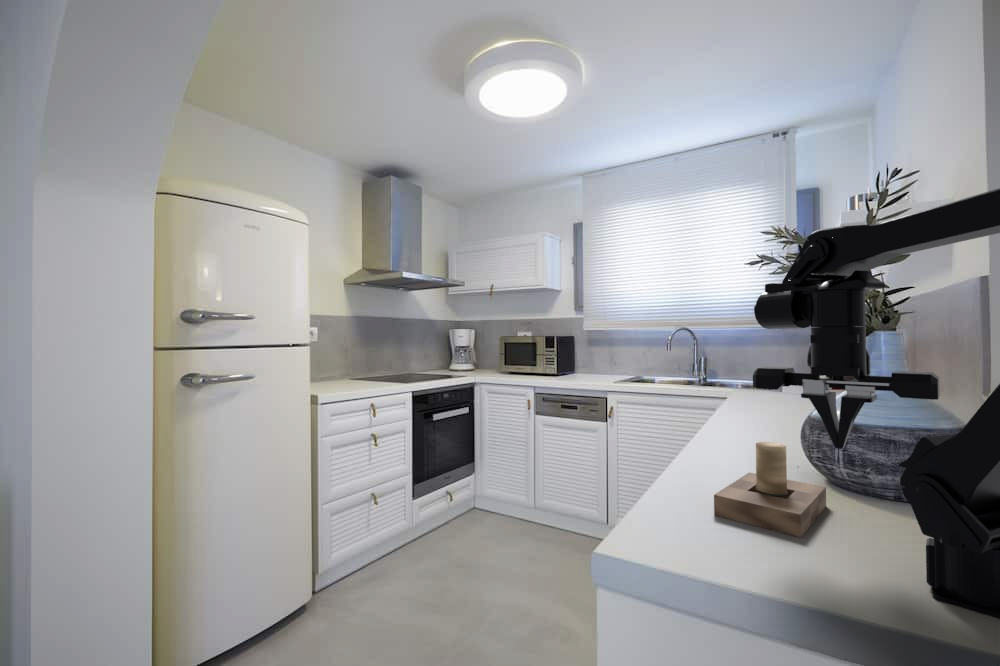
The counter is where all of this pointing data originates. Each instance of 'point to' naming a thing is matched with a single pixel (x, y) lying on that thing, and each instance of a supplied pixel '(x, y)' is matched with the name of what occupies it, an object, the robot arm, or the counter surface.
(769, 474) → the oak peg
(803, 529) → the walnut board
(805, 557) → the counter surface
